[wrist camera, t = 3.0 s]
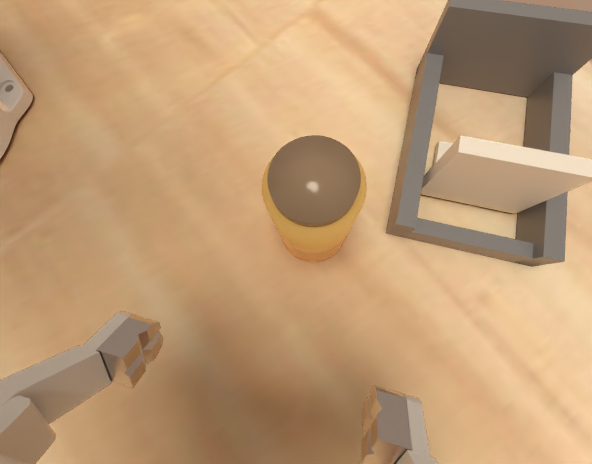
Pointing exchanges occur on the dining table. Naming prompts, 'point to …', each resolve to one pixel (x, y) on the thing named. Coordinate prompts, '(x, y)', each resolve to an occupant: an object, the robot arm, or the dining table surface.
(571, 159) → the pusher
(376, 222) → the dining table surface
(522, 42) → the grey open box
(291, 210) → the honey jar
